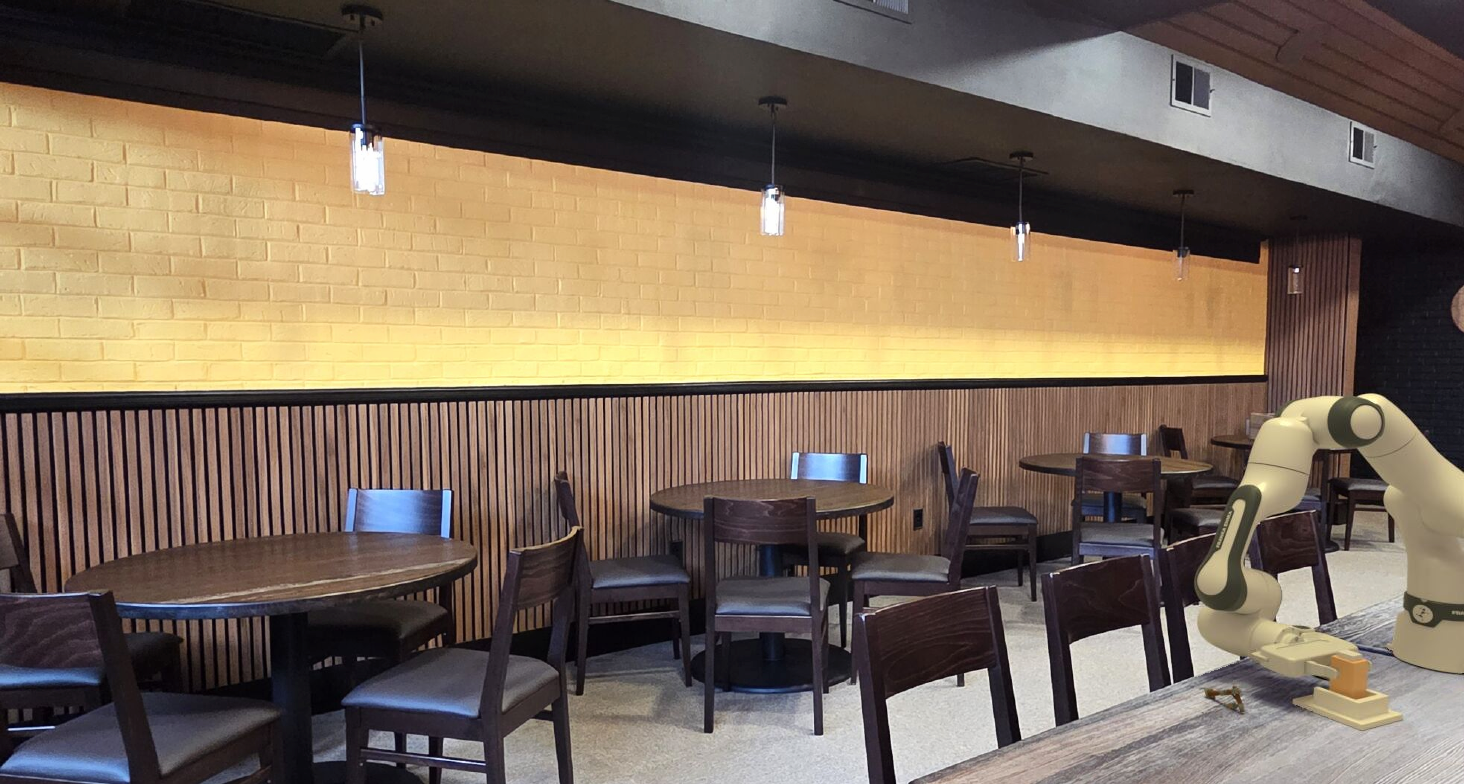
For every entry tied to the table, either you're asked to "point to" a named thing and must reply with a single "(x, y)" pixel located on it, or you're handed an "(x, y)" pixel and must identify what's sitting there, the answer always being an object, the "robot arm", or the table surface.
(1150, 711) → the table surface
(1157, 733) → the table surface
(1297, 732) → the table surface
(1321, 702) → the holder
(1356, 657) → the block
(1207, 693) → the wooden post with brackets
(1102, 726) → the table surface
